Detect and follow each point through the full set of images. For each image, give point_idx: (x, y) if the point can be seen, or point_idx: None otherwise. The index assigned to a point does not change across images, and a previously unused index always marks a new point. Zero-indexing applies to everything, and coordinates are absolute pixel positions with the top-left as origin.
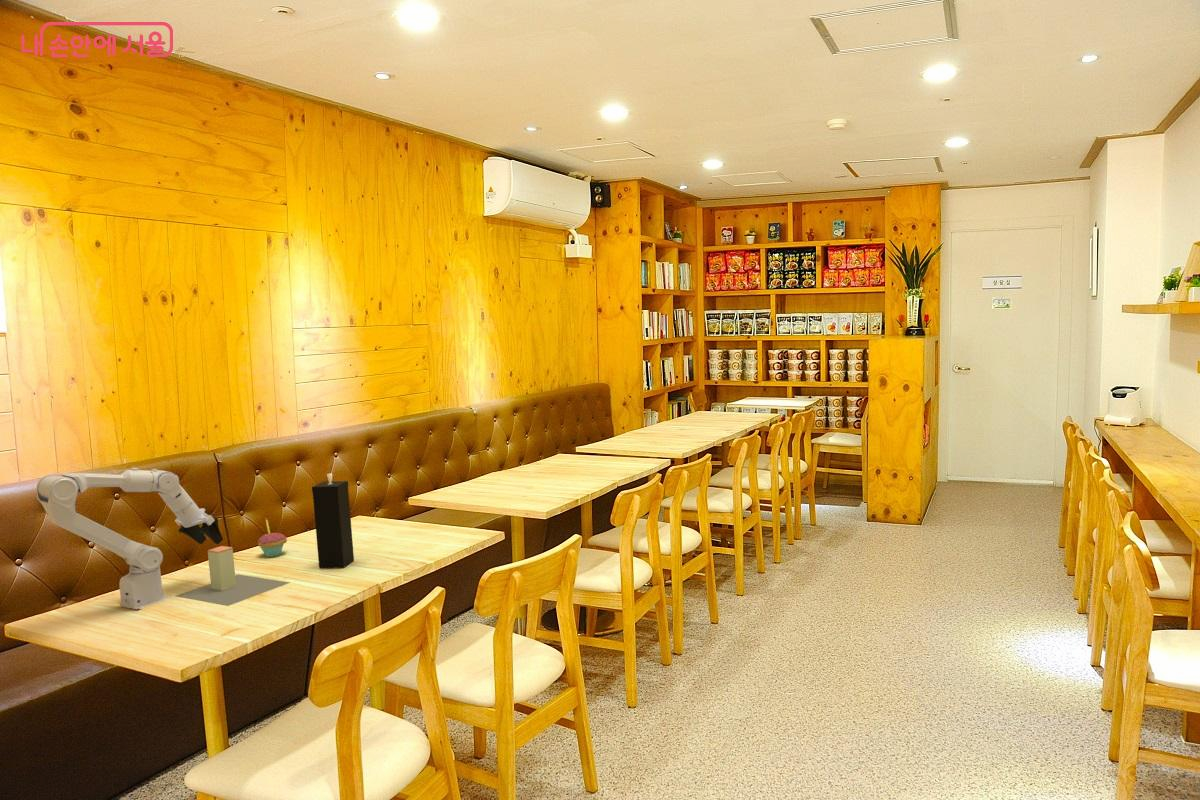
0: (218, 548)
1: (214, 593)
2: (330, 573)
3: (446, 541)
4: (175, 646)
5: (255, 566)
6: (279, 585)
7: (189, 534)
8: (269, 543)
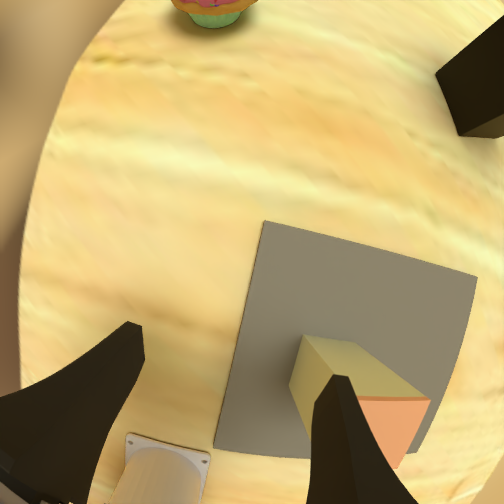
0: None
1: None
2: (497, 177)
3: (497, 16)
4: None
5: (242, 106)
6: (467, 306)
7: (97, 457)
8: (234, 3)
